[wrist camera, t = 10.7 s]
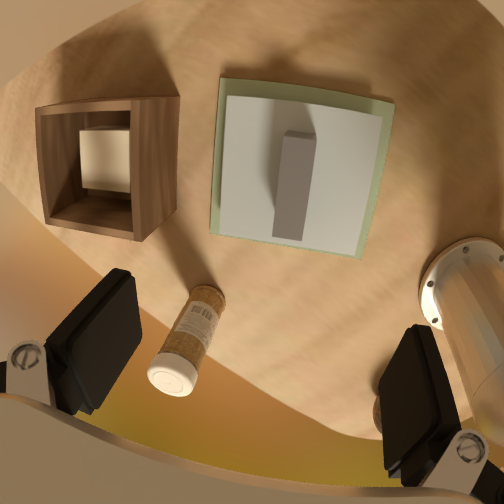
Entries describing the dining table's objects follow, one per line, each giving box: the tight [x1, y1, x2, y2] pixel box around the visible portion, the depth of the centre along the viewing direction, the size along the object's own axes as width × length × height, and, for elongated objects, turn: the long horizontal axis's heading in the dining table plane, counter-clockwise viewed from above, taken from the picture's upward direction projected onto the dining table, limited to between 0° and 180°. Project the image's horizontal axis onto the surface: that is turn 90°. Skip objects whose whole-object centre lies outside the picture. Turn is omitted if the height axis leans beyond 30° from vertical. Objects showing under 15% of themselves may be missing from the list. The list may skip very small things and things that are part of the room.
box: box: [35, 96, 180, 242], centre depth 28 cm, size 12×12×8 cm
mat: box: [210, 78, 395, 260], centre depth 29 cm, size 16×16×1 cm
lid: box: [219, 96, 383, 256], centre depth 26 cm, size 13×13×6 cm
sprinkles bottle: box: [147, 285, 226, 396], centre depth 33 cm, size 5×5×14 cm
